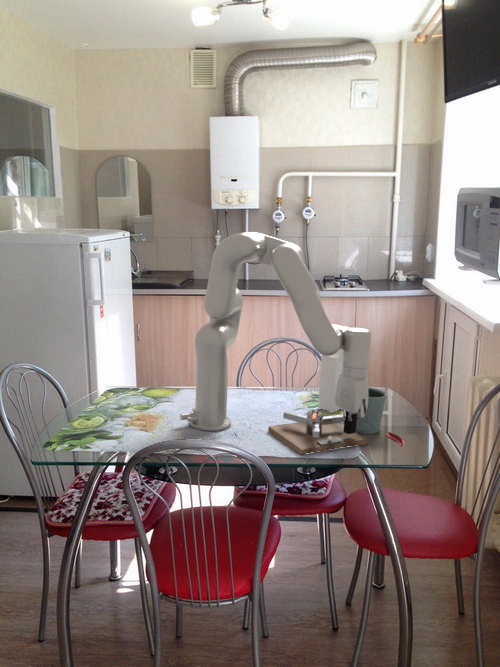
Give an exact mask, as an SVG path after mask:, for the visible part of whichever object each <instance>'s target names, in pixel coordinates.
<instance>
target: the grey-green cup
mask: <svg viewBox="0 0 500 667" xmlns="http://www.w3.org/2000/svg"><path fill="white" fill-rule="evenodd" d="M386 398H387V393H386V392H385V391H383V390H380V389H377V388H373V387H368V407H367V411H366V412H365V413H364V418H361V419H359V418H358V421H357V423H356V431H357V432H356V433H361V434H366V435H370V434H371V435H374V434H376V433H380V429H381V423H382V418H383V413H384V409H385V404H386Z"/></svg>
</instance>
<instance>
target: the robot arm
mask: <svg viewBox="0 0 500 667" xmlns="http://www.w3.org/2000/svg"><path fill="white" fill-rule="evenodd" d="M251 262H256V263H260V264H263V265H266V266H270V267H271V268H272V270H273V272H274V274H275V276H276V278H278V280H279V282H280V284H281V286H282V288H283V289H284V291H285V292H286V294H287V296H288V298H289V300H290V302H291V303H292V305H293V309H294V312H295V314H296V316H297V318H298V321H299V324H300V325H301V328H302V330H303V331H304V333H305V335H306V337H307V338H308V340H309V342H310V344H311V345H312V347H313V349H314V350H315V351H316V352H317V353H319V354H320V355H321V356H322V355H324V356H331V355H334V354H335V353H337V352H338V351H339V349H342V353H343V354H342V367H341V373H340V375H339V378H338V383H337V388H336V396H335V404H336V405H337V406H338V407H339V408H340V409H341V410H340V411H341V412H342V415H343V418H344V422H343V423H344V424H343V426H344V433H346V434H352V433H357V432H356V423H357V421H358V418H359V419H361V418H364V413H365V412H366V411H367V407H368V388H369V380H368V377H369V376H368V375H369V367H370V366H369V365H370V354H371V353H370V352H371V344H372V342H371V341H372V332H371V331H370V330H369V329H367V328H363V327H348V326H343V325H339V324H334V323H331V321H330V320H329V318H328V316H327V314H326V312H325V308H324V307H323V304H322V296H321V290H320V288H319V286H318V284H317V283H316V281H315V280H314V278H313V276H312V274H311V272H310V270H309V269H308V267H307V265H306V264H305V262H304V253H303V250H302V248H301V247H299V245H298V244H295V243H293V242H289V241H286V240H282V239H279V238H277V237H273V236H269V235H268V234H264V233H261V232H256V231H246V232H245V231H244V232H240V233H235V234H232V235H230V236H227V237H225V238H224V239H222V240H221V241H220V243H218V244H217V246H216V248H215V249H214V252H213V255H212V259H211V265H210V271H209V275H208V281H207V288H206V291H205V298H204V302H203V303H204V305H203V306H204V311H205V313H206V315H207V316H208V317H210V318H209V321H208V322H207V323H206V324H204V325H202V326H201V327H200V328H199V330H198V331H197V333H196V335H195V337H194V338H195V340H194V348H195V349H194V350H195V357H196V358H195V359H196V362H195V363H196V367H195V368H196V370H195V374H196V376H195V377H196V378H195V405H194V406H195V407H194V408H192V411H189V412H188V413H184V412H183V413H179V419H180V421H187V422H189V424H190V426H191V427H193V428H194V429H196V430H200V431H206V432H207V431H211V432H215V431H221V430H222V431H224V430H225V429H229V428H230V427H231V426H232V421H231V418H229V417H228V416H227V410H228V409H227V407H228V406H227V403H228V383H229V382H228V379H229V376H228V373H229V363H228V348H230V346H232V345H233V344H234V343H235V341H236V339H237V336H238V332H239V327H240V321H241V316H242V311H243V305H244V304H243V302H244V301H243V300H244V298H243V295H242V292H241V291H240V289H239V288H238V283H239V276H240V267H241V265H242V264H245V263H251Z"/></svg>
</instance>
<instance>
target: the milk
mask: <svg viewBox="0 0 500 667" xmlns="http://www.w3.org/2000/svg"><path fill="white" fill-rule="evenodd" d="M342 354H343V350H342V349H339V351H338V352H337V353H335V354H334V355H331V356H324V355H321V361H320V376H319V389H318V390H319V391H318V404H317V405H318V406H317V409H318V408H320V409H319V410H321V409H323V410H322V411H324V410H327V411H331V412H333V411H336V410H338V409H340V408H339V407H338V406H337V405H336V404H335V396H336V388H337V383H338V378H339V375H340V373H341V367H342ZM327 411H326V412H327ZM336 412H337V411H336Z"/></svg>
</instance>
